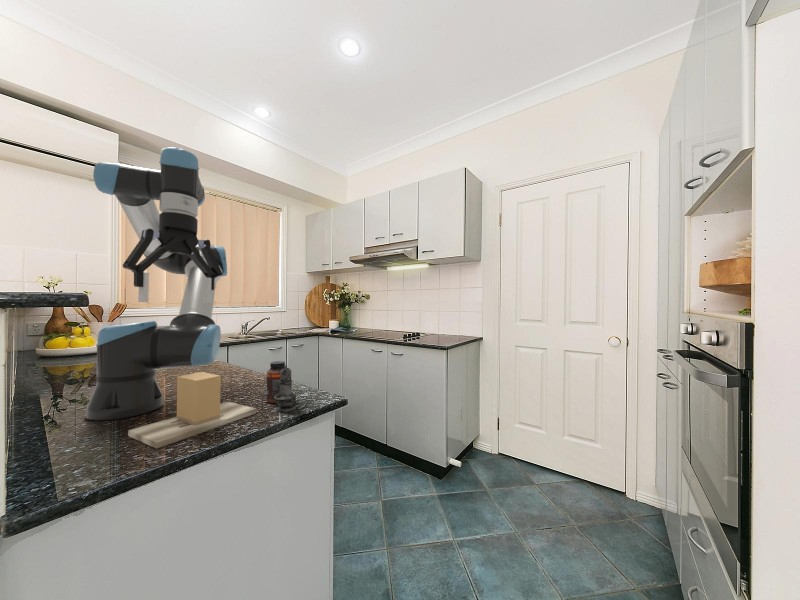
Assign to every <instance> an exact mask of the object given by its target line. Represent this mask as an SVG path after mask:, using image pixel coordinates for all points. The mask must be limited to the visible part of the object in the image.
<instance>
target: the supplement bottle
mask: <svg viewBox="0 0 800 600" xmlns="http://www.w3.org/2000/svg"><path fill="white" fill-rule="evenodd" d="M285 365H286V362H285V361H284V360H276V361H271V362H270V367H269V369H268V370H266V371H267V372H266V393H265V394H266V397H265V398H266V402H268V403H272V404H277V403H276V401H275V398H274V396H275V395H277V394H279V392H280V383H279V382H280V372H281V370H282V369H284V368H285Z"/></svg>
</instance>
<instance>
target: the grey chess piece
mask: <svg viewBox="0 0 800 600" xmlns="http://www.w3.org/2000/svg"><path fill="white" fill-rule="evenodd" d="M279 383H280V392H279V394H277V395H275V396H274V398H275V401H276V403H275V404H276V405H277V406H278V407H276V408H275V409H274V411H275V412H276V413H288V412H289V411H290V412H292V410H293V411H295V410H296V409H297V408H296V406H295V405H293V404H294V403H295V401H296V400H297V397H298V394H297V393H296V392H293V389H292V388H293V386H292V385H293V384H292V383H293V380H292V369H291V368H288V364H285V368H284V369H282V370H281V372H280V382H279ZM295 408H296V409H295ZM294 409H295V410H294Z"/></svg>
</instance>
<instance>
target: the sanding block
mask: <svg viewBox="0 0 800 600" xmlns="http://www.w3.org/2000/svg"><path fill="white" fill-rule="evenodd" d="M221 378H222V377H221V375H219V374H214V373H208V372H203V371H200V372H196V373H190V374H183V375H178V376H177V377H176V379H177V380H176V381H177V382H176V383H177V384H176V386H177V387H176V416H177V419H178V420H181V421H184V422H186V423H189V424H192V425H195V426H196V425H199V424H202V423H205V422H208V421H211V420H214V419H217V418H220V404H221V389H222V388H221V384H222V383H221V381H222V380H221Z"/></svg>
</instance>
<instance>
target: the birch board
mask: <svg viewBox="0 0 800 600" xmlns="http://www.w3.org/2000/svg"><path fill="white" fill-rule="evenodd" d="M255 414H257V408H255V407H251V406H247V405H244V404H239V403H235V402H231V401H225V402H223V403H222V402H220V418H217V419H214V420H211V421H208V422H205V423H202V424H199V425H196V426H195V425H192V424H189V423H186V422H184V421H181V420H178V419H177V415H176V416H172V417H169V418H167V419H162V420H159V421H156V422H153V423H149V424H145V425H141V426H138V427H135V428H132V429H128V430H127V436H128V437H129V438H132V439H134V440H137V441H138V442H141V443H143V444H145V445H148V446H149V447H152V448H154V449H160V448H163V447H165V446H166V447H167V446H168V445H171V444H173V443H174V444H175V443H176V442H179V441H183V440H185V439H188V438H190V437H194V436H196V435H199V434H202V433H204V432H207V431H210V430H213V429H216V428H219V427H221V426H224V425H228V424H230V423H233V422H236V421H239V420H241V419H243V418H247V417H250V416H253V415H255Z"/></svg>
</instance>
